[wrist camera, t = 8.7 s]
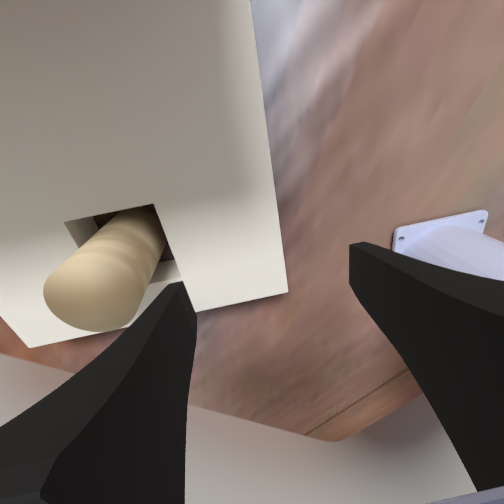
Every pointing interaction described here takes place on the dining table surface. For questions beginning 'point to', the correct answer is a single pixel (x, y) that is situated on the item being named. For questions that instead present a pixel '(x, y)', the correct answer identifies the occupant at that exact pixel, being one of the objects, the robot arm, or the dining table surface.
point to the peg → (108, 273)
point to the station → (134, 148)
